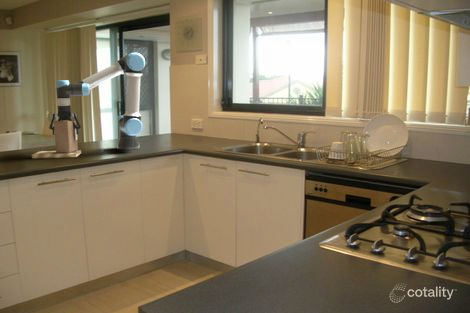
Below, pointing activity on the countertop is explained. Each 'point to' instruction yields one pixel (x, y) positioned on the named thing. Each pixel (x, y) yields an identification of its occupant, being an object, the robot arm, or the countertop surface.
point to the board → (55, 154)
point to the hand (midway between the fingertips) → (66, 139)
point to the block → (65, 136)
